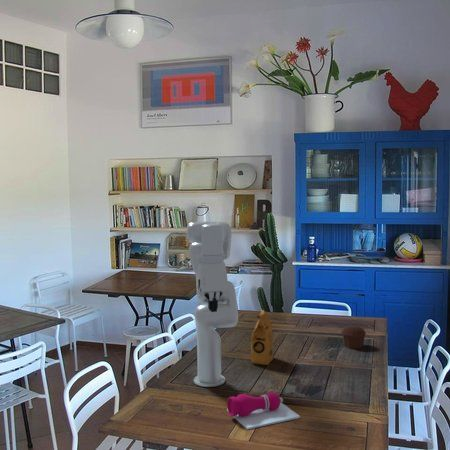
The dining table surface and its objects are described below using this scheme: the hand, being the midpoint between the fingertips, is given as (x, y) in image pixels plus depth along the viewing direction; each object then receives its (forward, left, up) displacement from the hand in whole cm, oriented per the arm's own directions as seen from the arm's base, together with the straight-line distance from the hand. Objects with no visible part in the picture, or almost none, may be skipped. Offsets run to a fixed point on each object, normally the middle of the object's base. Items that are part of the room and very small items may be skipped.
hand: (213, 311), depth 184 cm
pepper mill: (+11, +1, -31) cm, 33 cm away
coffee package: (-37, +39, -35) cm, 64 cm away
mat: (+12, +13, -35) cm, 39 cm away
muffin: (-36, +89, -35) cm, 102 cm away
